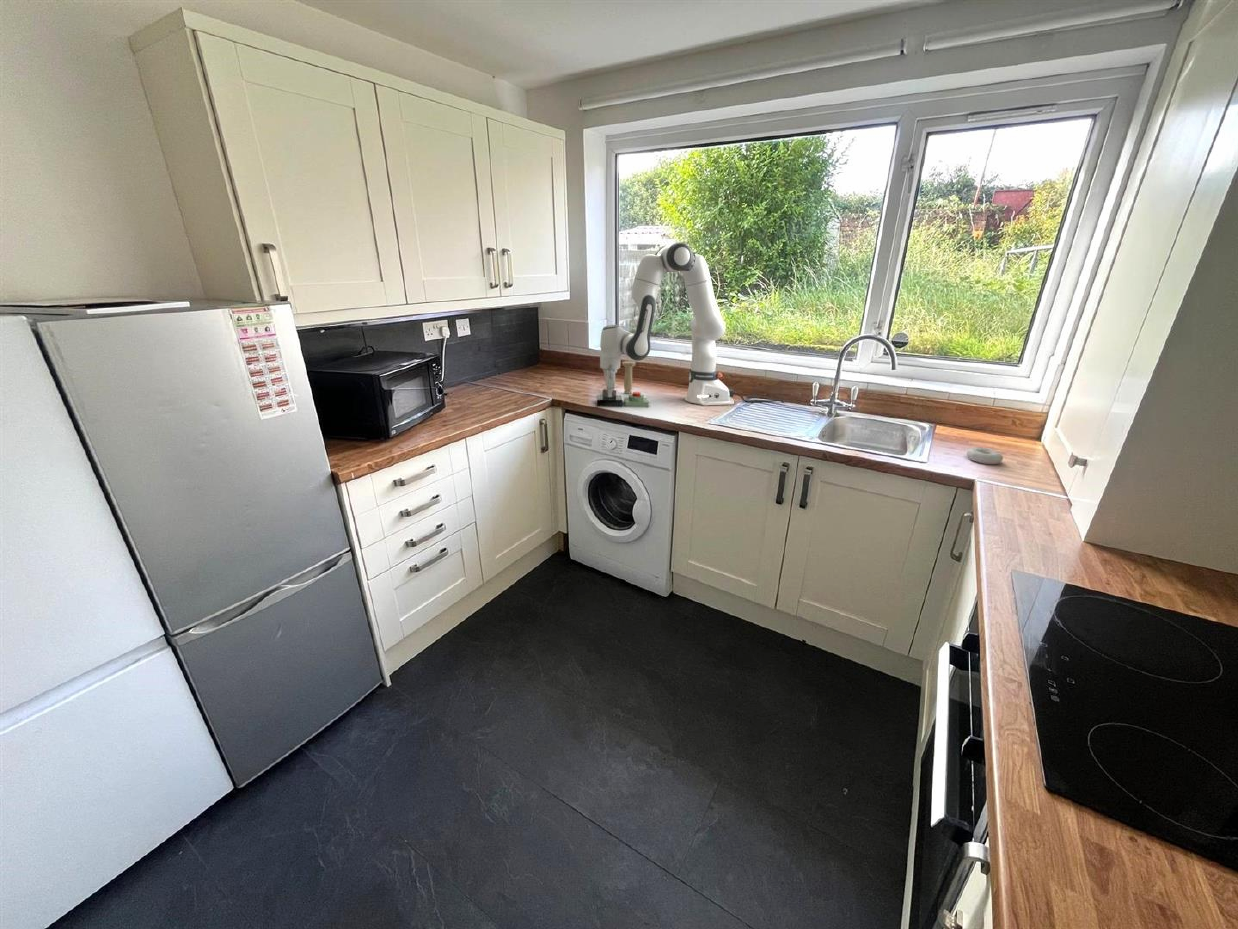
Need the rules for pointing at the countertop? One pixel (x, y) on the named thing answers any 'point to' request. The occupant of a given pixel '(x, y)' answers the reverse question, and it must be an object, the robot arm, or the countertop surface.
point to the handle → (628, 376)
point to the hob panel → (609, 401)
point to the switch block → (635, 401)
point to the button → (636, 394)
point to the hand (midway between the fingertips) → (609, 395)
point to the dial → (605, 393)
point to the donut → (984, 455)
